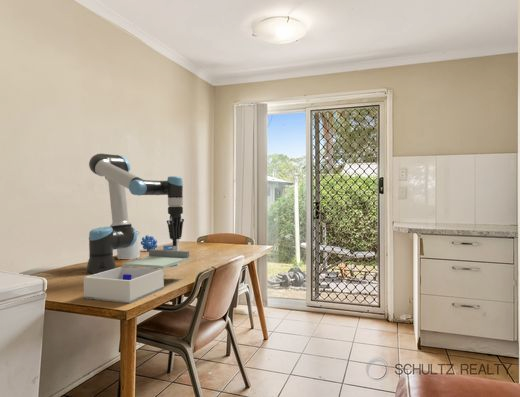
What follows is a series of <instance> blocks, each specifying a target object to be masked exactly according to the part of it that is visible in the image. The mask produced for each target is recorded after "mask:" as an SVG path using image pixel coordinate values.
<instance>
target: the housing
mask: <svg viewBox="0 0 520 397" xmlns="http://www.w3.org/2000/svg"><path fill="white" fill-rule="evenodd" d="M164 270H165V269H161V268H146V267H131V266H119V267H116V268H115V269H111V270H108V271H104V272H101V273H97V274H91V275H87V276H84V277H83V299H84V298H86V299H85V300H92V299H95V301H101V300H102V302H111V301H112V302H114V303H120V304H132V303H135V302H137V301H139V300H141V299H144V298H146V297H148V296H150V295H153V294H155V293H157V292H160V291H162V290H164V289H165V287H164V286H165V284H164V283H165V279H164V277H165V276H164ZM124 274H131V280H122V279H123V275H124Z"/></svg>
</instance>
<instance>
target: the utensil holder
mask: <svg viewBox="0 0 520 397" xmlns="http://www.w3.org/2000/svg"><path fill="white" fill-rule="evenodd" d="M135 230H136V232H137V239H136V242H135V243H134V245H132V246H131V247H127V248H121V249H116V254H117V255H116V256H117V260H120V259H131V260H136V258H137V259H140V256H141V255H140V254H141V230H138V229H135Z"/></svg>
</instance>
